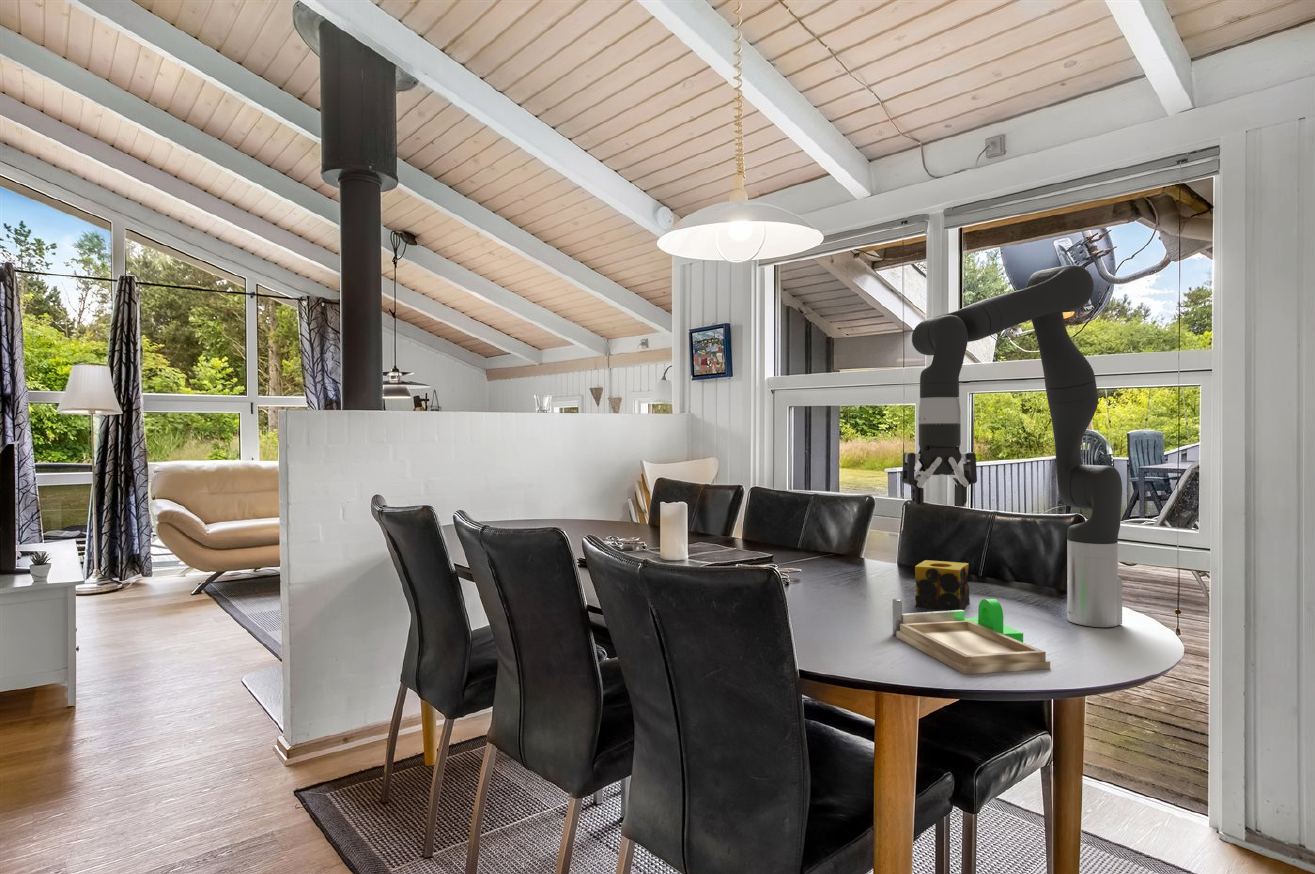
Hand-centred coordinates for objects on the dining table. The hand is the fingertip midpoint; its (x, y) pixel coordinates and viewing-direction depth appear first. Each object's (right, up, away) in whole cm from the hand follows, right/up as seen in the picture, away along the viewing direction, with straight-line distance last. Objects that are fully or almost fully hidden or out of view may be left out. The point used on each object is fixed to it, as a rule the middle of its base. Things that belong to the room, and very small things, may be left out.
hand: (939, 506), depth 142 cm
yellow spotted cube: (+12, -26, +30) cm, 41 cm away
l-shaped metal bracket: (+1, -26, +8) cm, 27 cm away
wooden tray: (+3, -26, -6) cm, 27 cm away
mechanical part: (+13, -27, +6) cm, 30 cm away
